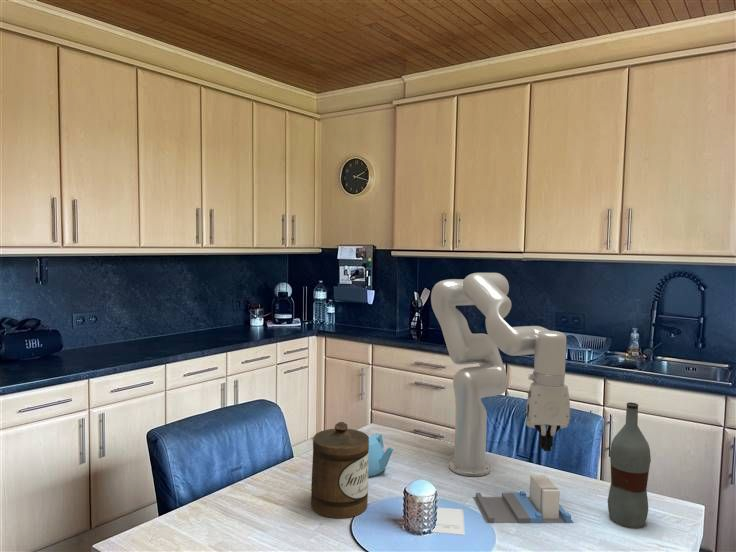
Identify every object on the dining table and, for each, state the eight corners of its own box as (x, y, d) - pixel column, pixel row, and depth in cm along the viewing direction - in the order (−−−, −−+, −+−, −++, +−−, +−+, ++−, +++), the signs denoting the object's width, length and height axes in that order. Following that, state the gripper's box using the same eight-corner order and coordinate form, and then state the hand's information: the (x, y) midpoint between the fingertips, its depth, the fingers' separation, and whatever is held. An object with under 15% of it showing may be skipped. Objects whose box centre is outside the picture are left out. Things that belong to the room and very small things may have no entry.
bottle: (640, 513, 141) (646, 400, 140) (653, 531, 132) (659, 410, 131) (602, 509, 143) (607, 397, 142) (612, 527, 134) (617, 407, 133)
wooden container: (355, 523, 133) (357, 435, 132) (301, 512, 138) (302, 427, 137) (375, 498, 147) (377, 418, 146) (325, 488, 152) (327, 411, 151)
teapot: (394, 478, 160) (395, 442, 159) (343, 481, 157) (344, 445, 156) (382, 458, 175) (382, 425, 174) (335, 461, 172) (336, 428, 171)
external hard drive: (463, 515, 139) (465, 541, 127) (431, 512, 141) (430, 537, 128) (463, 509, 139) (465, 534, 127) (431, 506, 140) (430, 531, 128)
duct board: (472, 499, 147) (472, 490, 147) (552, 500, 148) (552, 490, 148) (486, 526, 133) (486, 515, 133) (574, 526, 134) (574, 515, 134)
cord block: (529, 500, 146) (530, 474, 146) (544, 500, 146) (545, 474, 146) (542, 518, 136) (543, 491, 136) (558, 518, 136) (559, 491, 136)
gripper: (525, 382, 135) (521, 454, 136) (583, 383, 136) (580, 455, 137) (515, 375, 143) (512, 443, 144) (571, 376, 143) (568, 444, 144)
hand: (545, 449), depth 140 cm, fingers closed
